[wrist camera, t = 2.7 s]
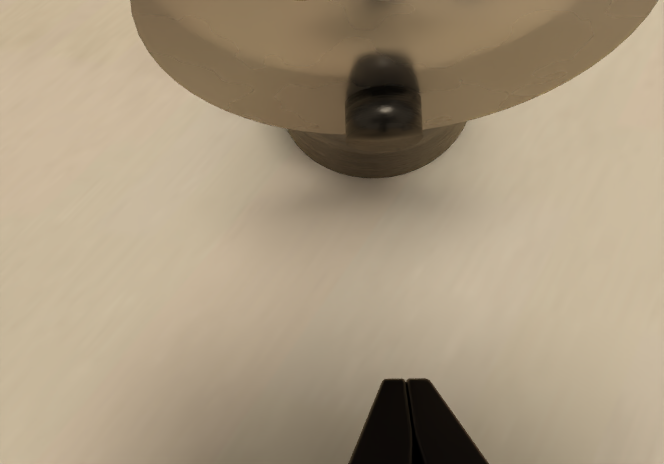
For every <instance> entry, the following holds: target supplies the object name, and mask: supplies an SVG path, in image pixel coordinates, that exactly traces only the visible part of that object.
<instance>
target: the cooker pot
mask: <svg viewBox="0 0 664 464" xmlns="http://www.w3.org/2000/svg"><path fill="white" fill-rule="evenodd" d="M466 122H467V121H465V122H461V123H456V124H451V125H447V126H442V127H436V128H430V129H424V130H423V138H422V140H421V141H420V142H418V143H417V144H415V145H413V146H410V147H407V148H403V149H399V150H393V151H383V152H372V151H363V150H358V149H354V148H352V147H350V146H349V145H347V143H346V135H343V134H326V133H315V132H306V131H299V130H293V129H287V130H288V132H289V134H290V135H291V137H292V139H293V140H294V141H295V143H296V144H297V145H298V147H299V148H300V149H301V150H302V151H303V152H304V153H305V154H307V155H308V156H309V157H310V158H312V159H313V160H314V161H316V162H317V163H319V164H321V165H323V166H324V167H326V168H328V169H331V170H333V171H336V172H338V173H342V174H346V175H350V176H355V177H362V178H383V177H392V176H396V175H401V174H405V173H408V172H410V171H413V170H416V169H418V168H420V167H422V166H424V165H426V164H428V163H430V162H431V161H433V160H434V159H436V158H437V157H439V156H440V155H441V154H442V153H443V152H445V151H446V150H447V149H448V148H449V147H450V146H451V145H452V144H453V142H454V141H455V140H456V139H457V138H458V136H459V135H460V133H461V131H462V130H463V128H464V126H465V124H466Z"/></svg>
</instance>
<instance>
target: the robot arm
mask: <svg viewBox="0 0 664 464" xmlns="http://www.w3.org/2000/svg"><path fill="white" fill-rule="evenodd" d="M348 464H489V463H488V462H487V460H486V459H485V458H484V456H483V455H482V453H481V452H480V451H479V449H478V448H477V446H476V445H475V443H474V442H473V441H472V439H471V438H470V436H469V435H468V434H467V432H466V431H465V429H464V428H463V427H462V425H461V424H460V422H459V421H458V419H457V418H456V417H455V415H454V414H453V412H452V411H451V410H450V408H449V407H448V405H447V404H446V402H445V401H444V400H443V398H442V397H441V395H440V394H439V393H438V391H437V390H436V388H435V387H434V386H433V384H432V383H431V382H430V380H428V379H425V378H424V379H408V380H407V381H405V380H404V379H384V380H383V381H382V383H381V385H380V388H379V390H378V393H377V395H376V398H375V400H374V402H373V405H372V407H371V410H370V412H369V415H368V417H367V419H366V422H365V424H364V427H363V429H362V432H361V434H360V436H359V439H358V441H357V444H356V446H355V449H354V451H353V453H352V456H351V458H350V461H349V463H348Z"/></svg>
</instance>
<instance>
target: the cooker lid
mask: <svg viewBox="0 0 664 464" xmlns="http://www.w3.org/2000/svg"><path fill="white" fill-rule="evenodd" d="M130 1H131V11H132V16H133V19H134V22H135V25H136V28H137V31H138V34H139V36H140V38H141V40H142V41H143V43H144V45H145V47H146V48H147V50H148V52H149V53H150V55H151V56H152V57H153V58H154V60H155V61H156V62H157V63H158V64H159V66H160V67H161V68H162V69H163V70H164V71H165V72H166V73H167V74H168V75H169V76H171V77H172V78H173V79H174V80H175V81H176V82H177V83H179V84H180V85H181V86H183V87H184V88H186V89H187V90H188V91H190V92H191V93H193V94H194V95H196V96H198V97H200V98H201V99H203V100H205V101H206V102H208V103H210V104H212V105H214V106H217V107H219V108H221V109H223V110H225V111H228V112H230V113H233V114H236V115H238V116H241V117H244V118H247V119H250V120H254V121H257V122H260V123H264V124H268V125H273V126H277V127H281V128H287V129H293V130H299V131H306V132H315V133H326V134H343V135H346V143H347V145H349V146H350V147H352V148H354V149H358V150H363V151H372V152H383V151H393V150H399V149H403V148H407V147H410V146H413V145H415V144H417V143H418V142H420V141H421V140H422V138H423V130H424V129H430V128H436V127H442V126H447V125H451V124H456V123H461V122H465V121H468V120H472V119H476V118H480V117H483V116H487V115H490V114H493V113H496V112H499V111H502V110H505V109H508V108H510V107H513V106H516V105H518V104H521V103H524V102H526V101H528V100H531V99H533V98H535V97H537V96H540V95H542V94H544V93H546V92H548V91H550V90H552V89H554V88H556V87H558V86H560V85H562V84H564V83H566V82H568V81H569V80H571V79H573V78H574V77H576V76H578V75H579V74H581V73H582V72H584V71H586V70H587V69H589V68H590V67H592V66H593V65H595V64H596V63H597V62H599V61H600V60H601V59H603V58H604V57H605V56H607V55H608V54H610V53H611V52H612V51H613V50H614V49H615V48H617V47H618V46H619V45H620V44H621V43H622V42H623V41H624V40H626V39H627V38H628V37H629V36H630V35H631V34H632V33H633V32H634V31H635V29H636V28H637V27H638V26H639V25H640V24H641V23H642V22H643V21H644V20H645V18H646V17H647V16H648V15H649V13H650V12H651V10H652V9H653V8H654V6H655V5H656V3H657V2H658V0H130Z"/></svg>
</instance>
